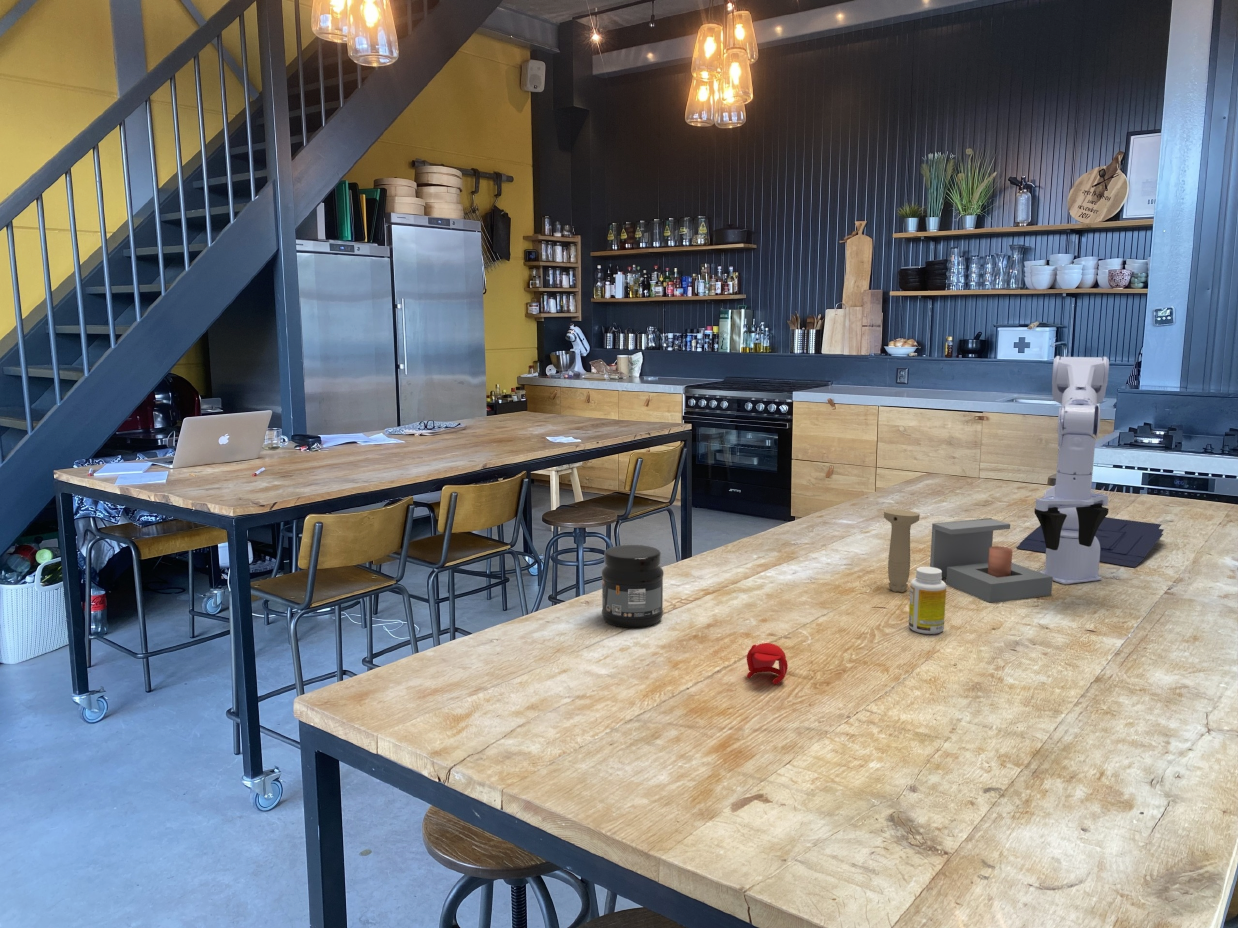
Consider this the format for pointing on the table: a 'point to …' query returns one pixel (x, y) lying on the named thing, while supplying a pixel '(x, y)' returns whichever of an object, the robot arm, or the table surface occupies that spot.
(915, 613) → the supplement bottle
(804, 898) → the table surface
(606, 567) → the supplement container
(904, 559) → the handle
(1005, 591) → the socket stand
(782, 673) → the red toy helmet
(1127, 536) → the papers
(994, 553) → the peg
